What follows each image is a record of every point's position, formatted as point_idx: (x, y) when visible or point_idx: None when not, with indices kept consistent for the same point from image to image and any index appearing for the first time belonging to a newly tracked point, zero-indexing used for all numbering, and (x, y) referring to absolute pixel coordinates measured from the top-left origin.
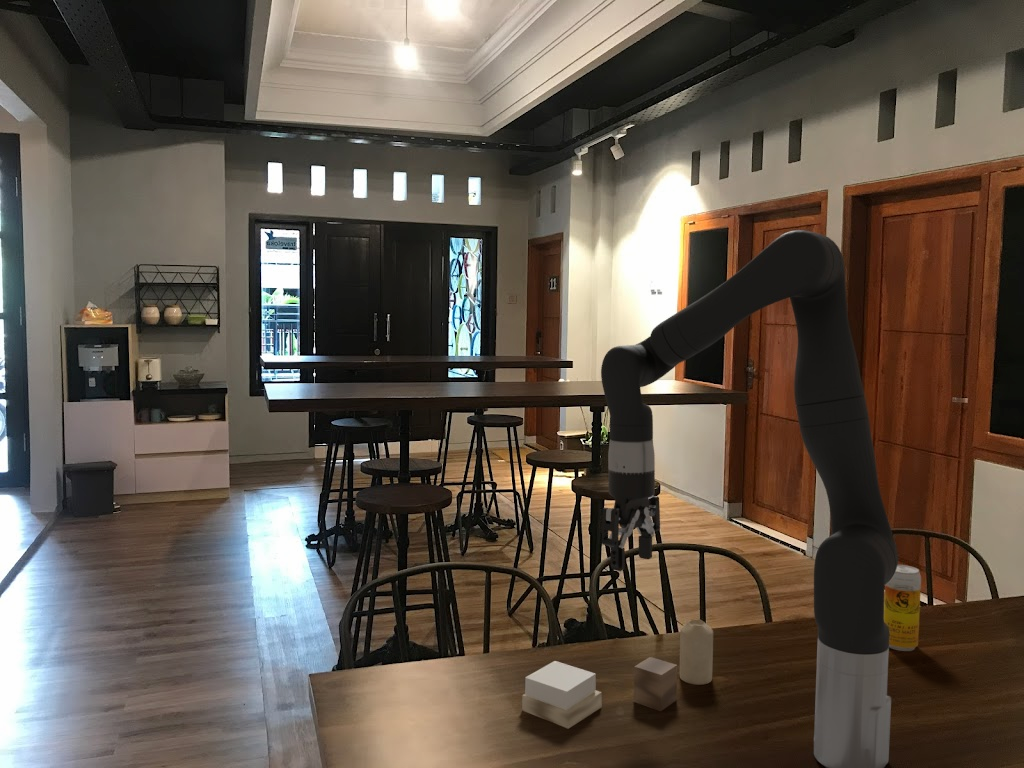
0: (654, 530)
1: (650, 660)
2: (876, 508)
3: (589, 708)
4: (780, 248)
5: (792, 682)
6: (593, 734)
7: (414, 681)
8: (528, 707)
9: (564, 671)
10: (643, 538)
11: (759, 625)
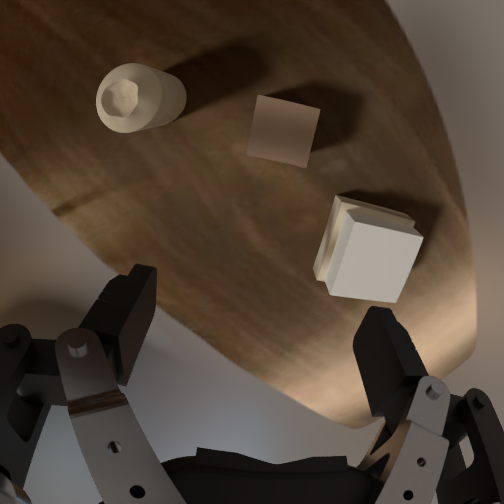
0: (38, 345)
1: (263, 148)
2: None
3: (367, 205)
4: None
5: None
6: (409, 179)
7: (347, 387)
8: None
9: (362, 267)
10: (125, 361)
11: None
